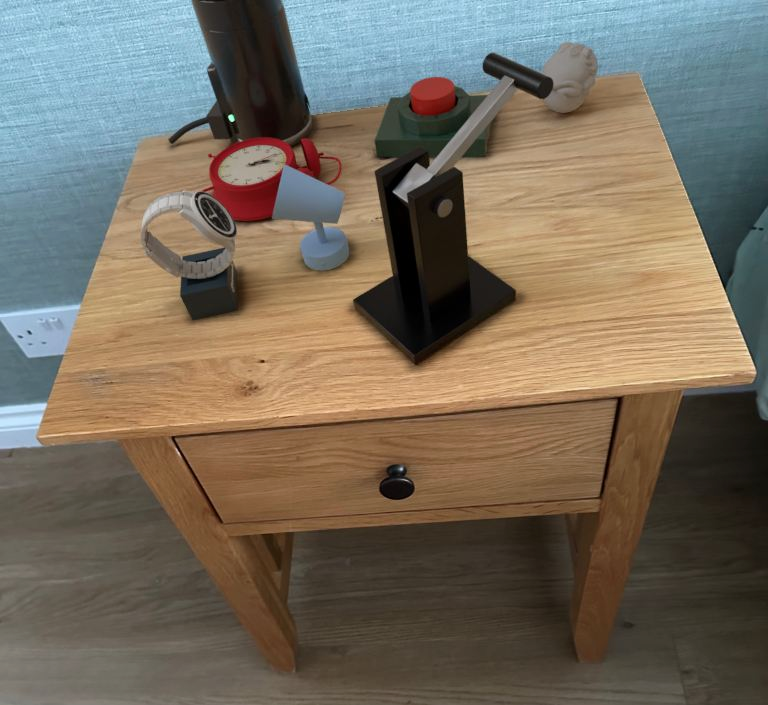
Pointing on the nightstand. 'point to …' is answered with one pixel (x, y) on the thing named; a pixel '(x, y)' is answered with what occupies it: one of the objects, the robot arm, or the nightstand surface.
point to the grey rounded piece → (570, 76)
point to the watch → (201, 270)
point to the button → (433, 96)
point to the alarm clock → (258, 174)
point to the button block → (427, 127)
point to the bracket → (428, 265)
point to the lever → (479, 118)
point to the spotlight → (313, 217)
